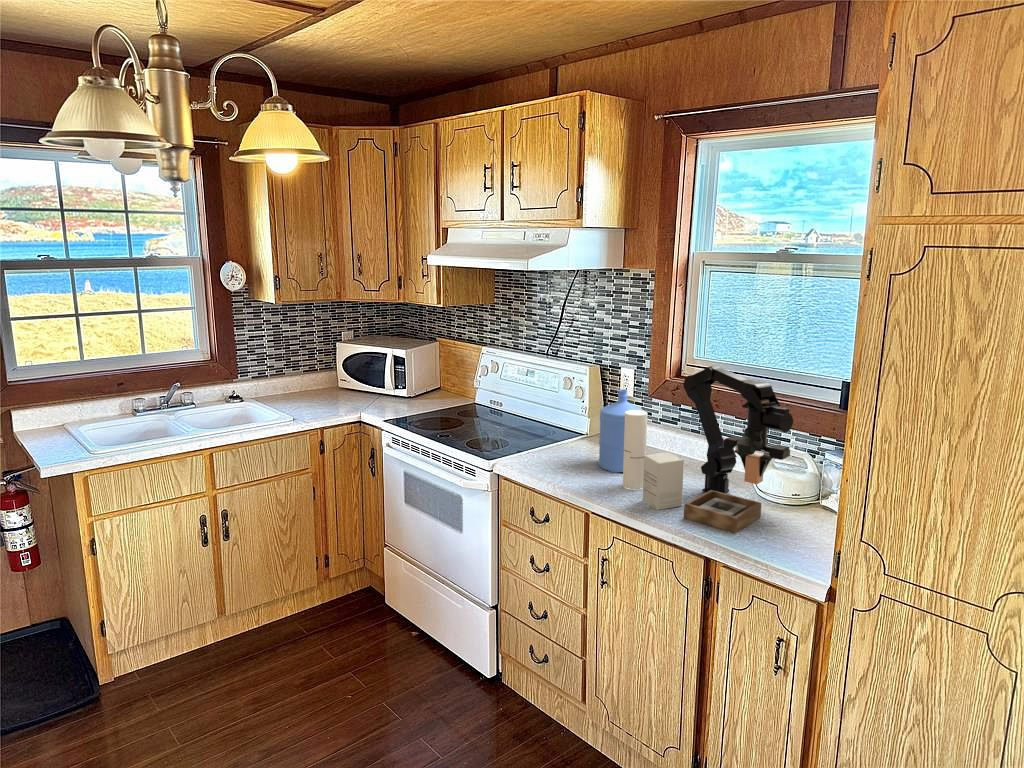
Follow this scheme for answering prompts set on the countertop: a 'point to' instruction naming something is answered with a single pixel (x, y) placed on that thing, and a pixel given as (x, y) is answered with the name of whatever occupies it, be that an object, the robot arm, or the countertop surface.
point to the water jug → (613, 433)
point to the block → (753, 469)
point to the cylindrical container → (634, 448)
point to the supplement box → (663, 480)
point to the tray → (722, 517)
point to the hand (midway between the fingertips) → (753, 474)
